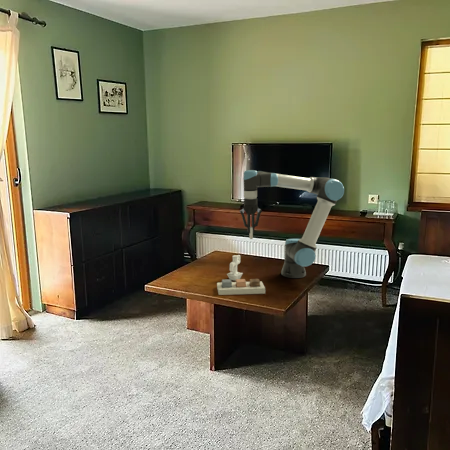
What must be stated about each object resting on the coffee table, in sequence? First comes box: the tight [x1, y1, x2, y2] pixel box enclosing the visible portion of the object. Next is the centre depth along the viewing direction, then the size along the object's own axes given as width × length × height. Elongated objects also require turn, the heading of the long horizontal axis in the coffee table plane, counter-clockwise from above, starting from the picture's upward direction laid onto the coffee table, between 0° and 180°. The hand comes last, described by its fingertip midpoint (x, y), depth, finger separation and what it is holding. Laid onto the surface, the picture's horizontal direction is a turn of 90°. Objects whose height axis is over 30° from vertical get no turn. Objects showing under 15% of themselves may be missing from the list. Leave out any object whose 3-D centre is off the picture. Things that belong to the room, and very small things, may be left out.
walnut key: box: [249, 278, 260, 287], centre depth 252 cm, size 5×5×4 cm
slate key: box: [221, 278, 233, 288], centre depth 250 cm, size 5×5×4 cm
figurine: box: [226, 254, 244, 282], centre depth 270 cm, size 7×9×15 cm
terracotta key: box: [235, 278, 247, 287], centre depth 251 cm, size 5×5×4 cm
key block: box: [216, 280, 266, 296], centre depth 251 cm, size 26×12×3 cm, turn 95°
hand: (251, 238), depth 256 cm, fingers closed
